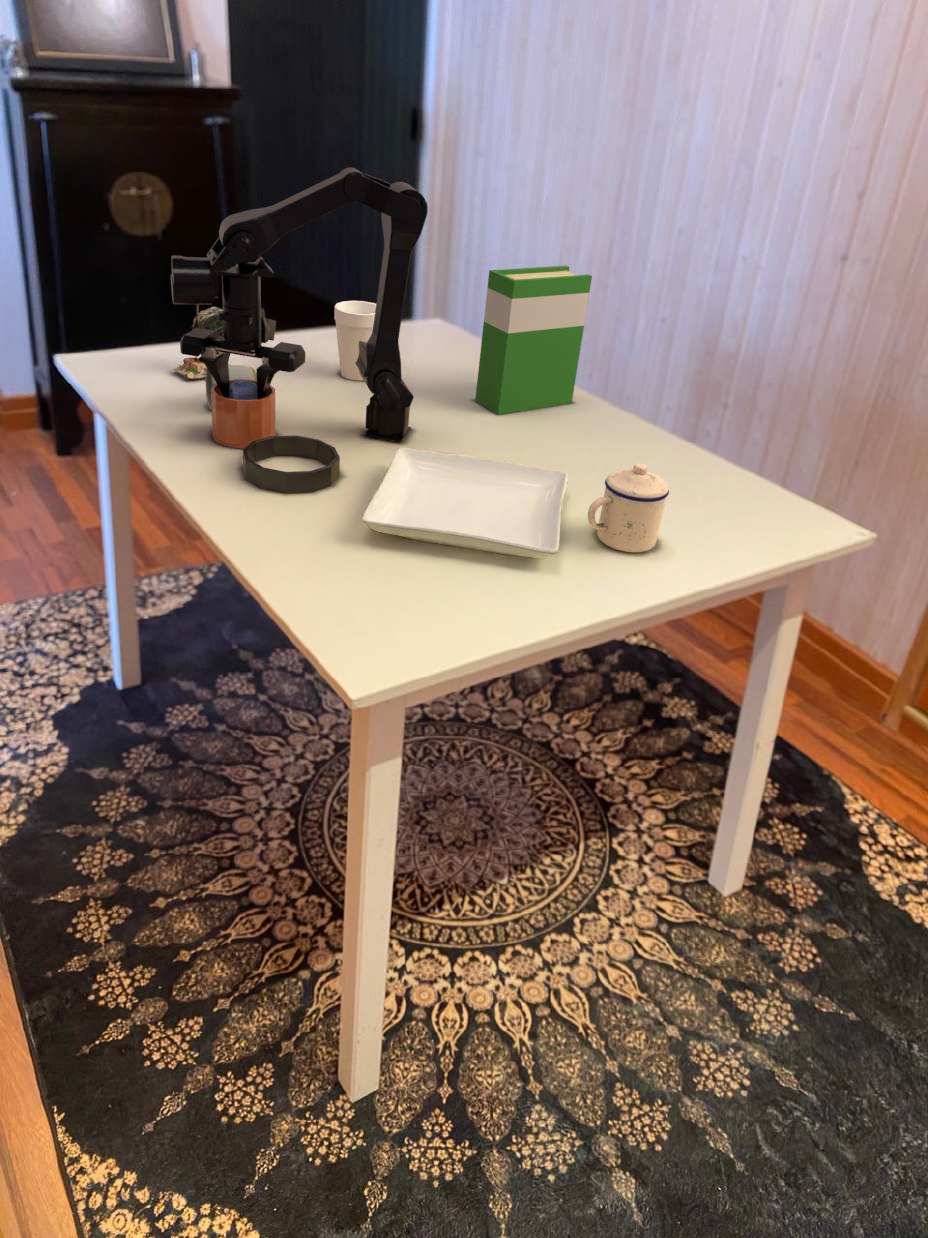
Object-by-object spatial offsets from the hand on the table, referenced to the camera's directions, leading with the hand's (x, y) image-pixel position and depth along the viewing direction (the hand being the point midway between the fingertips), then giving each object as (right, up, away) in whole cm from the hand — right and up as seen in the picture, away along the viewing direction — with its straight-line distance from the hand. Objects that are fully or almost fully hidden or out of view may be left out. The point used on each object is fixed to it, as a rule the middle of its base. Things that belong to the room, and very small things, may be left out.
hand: (244, 402), depth 162 cm
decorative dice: (0, -1, +1) cm, 1 cm away
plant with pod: (-14, +11, +27) cm, 32 cm away
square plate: (+36, -20, -13) cm, 43 cm away
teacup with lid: (+58, -24, -16) cm, 64 cm away
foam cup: (+15, +12, +34) cm, 39 cm away
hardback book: (+47, +6, +30) cm, 56 cm away
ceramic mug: (-6, +2, +14) cm, 16 cm away
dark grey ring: (+9, -12, -7) cm, 17 cm away
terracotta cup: (-1, -5, +3) cm, 6 cm away
